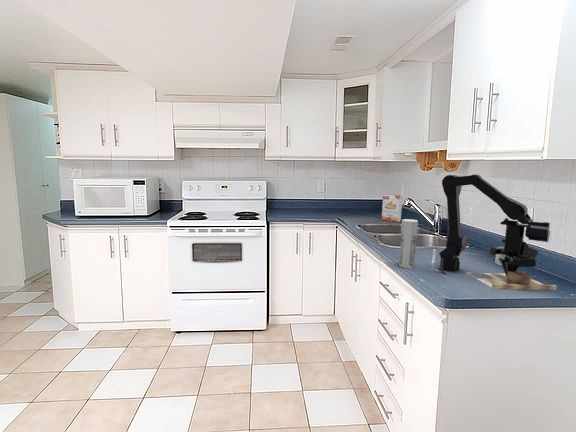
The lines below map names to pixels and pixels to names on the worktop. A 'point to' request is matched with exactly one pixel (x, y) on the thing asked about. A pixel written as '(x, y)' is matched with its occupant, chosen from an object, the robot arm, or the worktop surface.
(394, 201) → the cracker box
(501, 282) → the trap board
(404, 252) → the spray can
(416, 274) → the worktop surface
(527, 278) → the walnut block
